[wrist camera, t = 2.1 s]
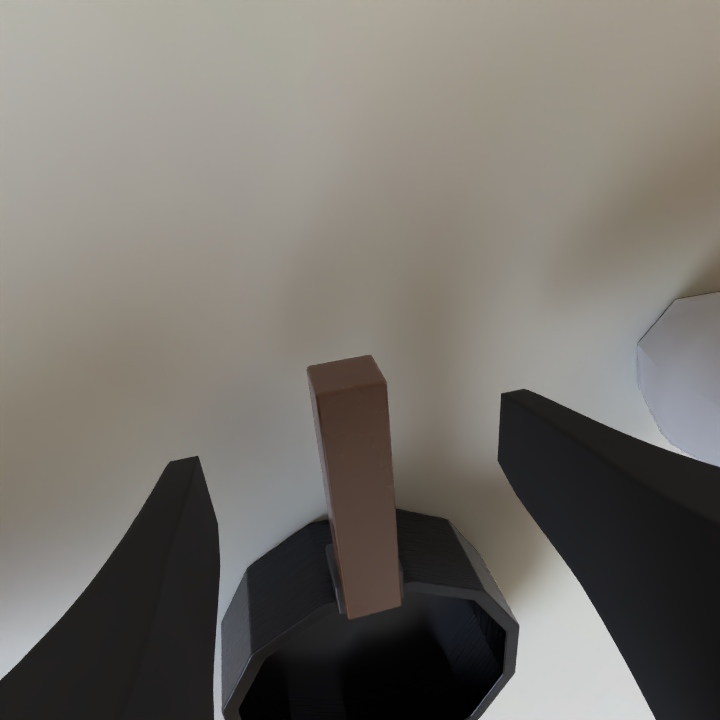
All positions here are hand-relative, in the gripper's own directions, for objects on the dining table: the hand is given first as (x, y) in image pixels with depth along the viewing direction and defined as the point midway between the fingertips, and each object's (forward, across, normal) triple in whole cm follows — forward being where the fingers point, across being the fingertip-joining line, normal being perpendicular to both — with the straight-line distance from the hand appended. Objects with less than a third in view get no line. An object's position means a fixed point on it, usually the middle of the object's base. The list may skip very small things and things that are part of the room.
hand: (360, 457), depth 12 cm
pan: (+4, 0, +7) cm, 8 cm away
